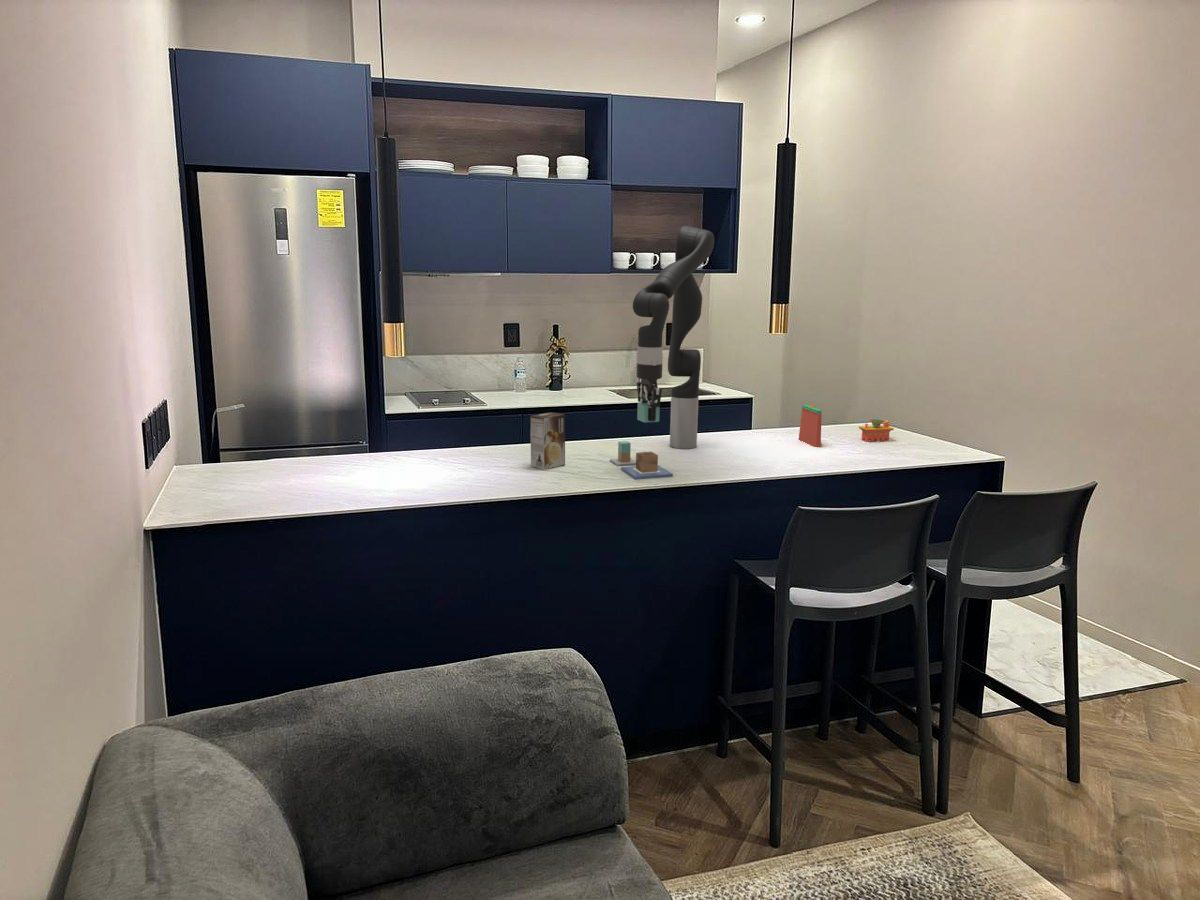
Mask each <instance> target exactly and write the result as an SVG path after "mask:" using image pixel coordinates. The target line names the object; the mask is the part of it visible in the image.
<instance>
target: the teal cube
mask: <svg viewBox="0 0 1200 900" xmlns="http://www.w3.org/2000/svg"><path fill="white" fill-rule="evenodd" d="M660 408H661V407H657V408H656V420H655V421H648V409H649V408H648V402H647V403H640V402H637V412H636V413H637V414H636V415H637V418H636V420H637V421H640V422H642V423H659V422H660V413H661V412H660Z"/></svg>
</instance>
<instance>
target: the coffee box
mask: <svg viewBox="0 0 1200 900" xmlns="http://www.w3.org/2000/svg"><path fill="white" fill-rule="evenodd" d="M565 415H566V414H565V413H558V412H554V411H552V412H551V411H549V412H543V413H539V414H533V415H530V416H529V418H530V420H529V421H530V422H529V424H530V429H529V431H530V434H529V435H530V467H532V466H534V467H533V468H535V467H538V468H537V469H540V468H542V469H541V470H544V469H545V470H548V469H547V468H549V469H553V468H557V467H561V466H565V465H566V428H565V427H566V417H565ZM552 467H553V468H552Z"/></svg>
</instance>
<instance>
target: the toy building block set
mask: <svg viewBox="0 0 1200 900" xmlns="http://www.w3.org/2000/svg"><path fill="white" fill-rule="evenodd" d="M801 406H802V407H801V415H800V416H801V417H800V423H799V432H798V441H799V440H800V441H799V442H802V441H803V442H802V443H804V442H805V443H804V444H806V443H807V444H806V445H808V444H809V445H808V446H810V447H814V448H815V447H817V448H818V447H819V448H822V414H823V413H822V411H823V410H821V409H819V408H817V407H815V406H814V405H813V404H810V405H808V404H802V405H801ZM869 422H871V425H868V423H865V424H864V425H863V426H858V428H859V430H861V431H862V432H861V441H862V442H865V443H868V442H871V443H872V442H874V441H875V442H879V441H880V442H884V441H885V442H890V441H889V440H890V432H891V431H893V430H895V428H894V427H892V426H891V425H890V423H889V422H890V420H888V419H886V420H882V419H880V418H871V419H869ZM881 424H883V425H881ZM817 448H816V449H817ZM819 448H818V449H819Z"/></svg>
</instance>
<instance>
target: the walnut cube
mask: <svg viewBox="0 0 1200 900" xmlns="http://www.w3.org/2000/svg"><path fill="white" fill-rule="evenodd" d="M635 461H636V465H635V466H636V469H637V470H639V471H640V472H642V473H644V472H657V471H658V465H659V462H658V461H659V455H658V454H656V453H655V452H653V451H642V452H641V451H640V452H638V451H637V452H635Z"/></svg>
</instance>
